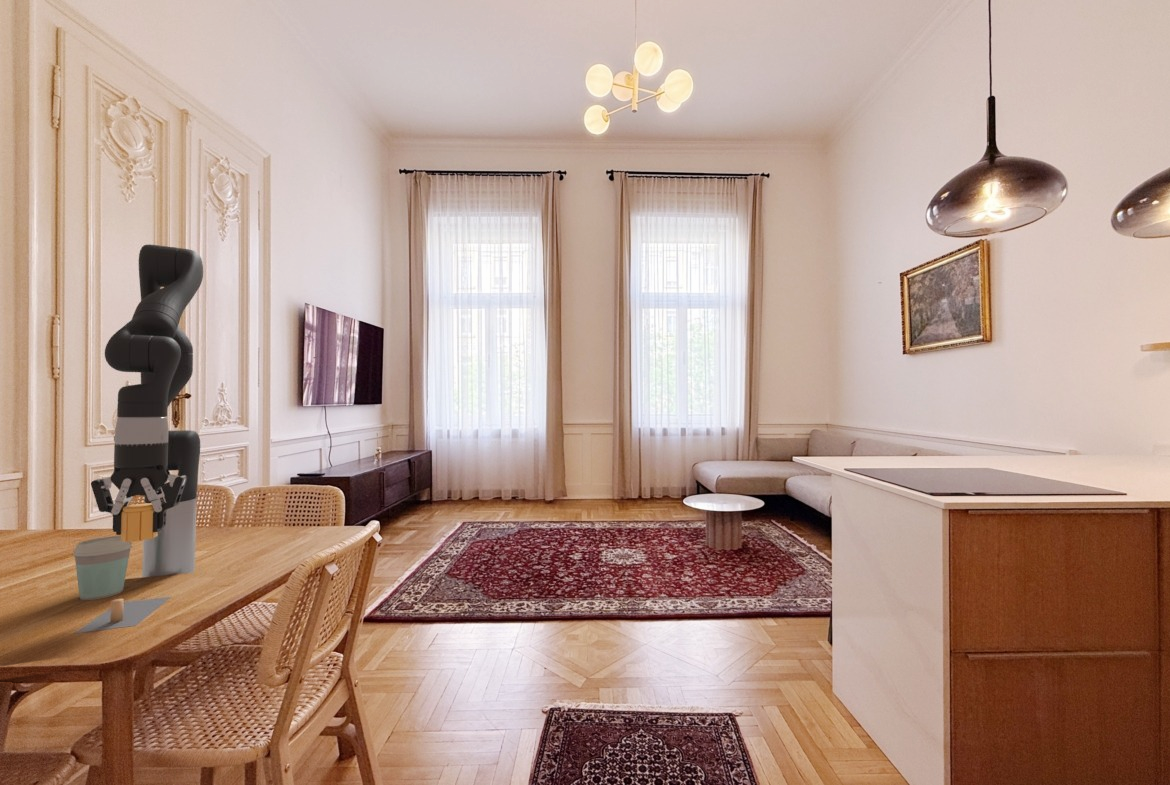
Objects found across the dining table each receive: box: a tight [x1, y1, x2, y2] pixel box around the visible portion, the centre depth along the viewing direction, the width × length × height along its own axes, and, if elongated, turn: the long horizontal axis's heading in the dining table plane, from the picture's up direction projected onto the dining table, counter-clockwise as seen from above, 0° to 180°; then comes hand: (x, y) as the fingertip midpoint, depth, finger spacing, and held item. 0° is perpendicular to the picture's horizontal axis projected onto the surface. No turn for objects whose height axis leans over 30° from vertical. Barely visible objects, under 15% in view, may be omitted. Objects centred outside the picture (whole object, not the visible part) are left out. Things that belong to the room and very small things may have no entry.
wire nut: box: [120, 503, 158, 543], centre depth 92 cm, size 5×5×6 cm
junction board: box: [74, 596, 171, 634], centre depth 88 cm, size 14×8×5 cm, turn 21°
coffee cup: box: [72, 535, 133, 601], centre depth 98 cm, size 9×8×12 cm
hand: (139, 532), depth 92 cm, fingers closed on wire nut, 4 cm apart
